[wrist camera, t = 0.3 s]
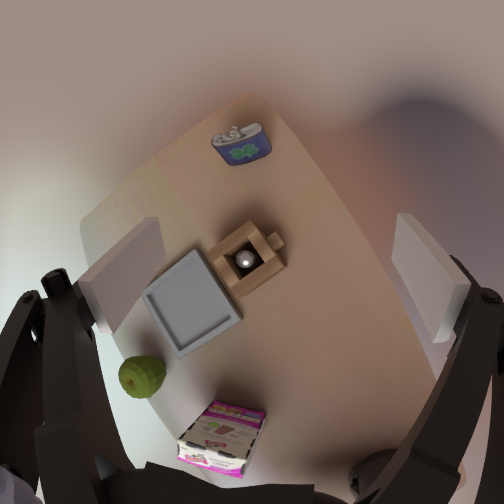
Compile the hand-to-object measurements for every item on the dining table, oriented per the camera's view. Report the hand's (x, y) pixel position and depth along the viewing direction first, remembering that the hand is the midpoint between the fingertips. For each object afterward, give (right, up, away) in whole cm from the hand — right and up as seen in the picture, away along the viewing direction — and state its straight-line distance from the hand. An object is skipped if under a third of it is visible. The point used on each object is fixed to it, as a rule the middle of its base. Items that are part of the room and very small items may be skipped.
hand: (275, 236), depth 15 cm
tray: (-13, -11, +38) cm, 42 cm away
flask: (-2, +18, +38) cm, 42 cm away
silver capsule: (-1, -2, +36) cm, 36 cm away
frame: (-1, -2, +36) cm, 36 cm away
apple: (-21, -25, +39) cm, 51 cm away
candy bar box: (-4, -33, +34) cm, 48 cm away
